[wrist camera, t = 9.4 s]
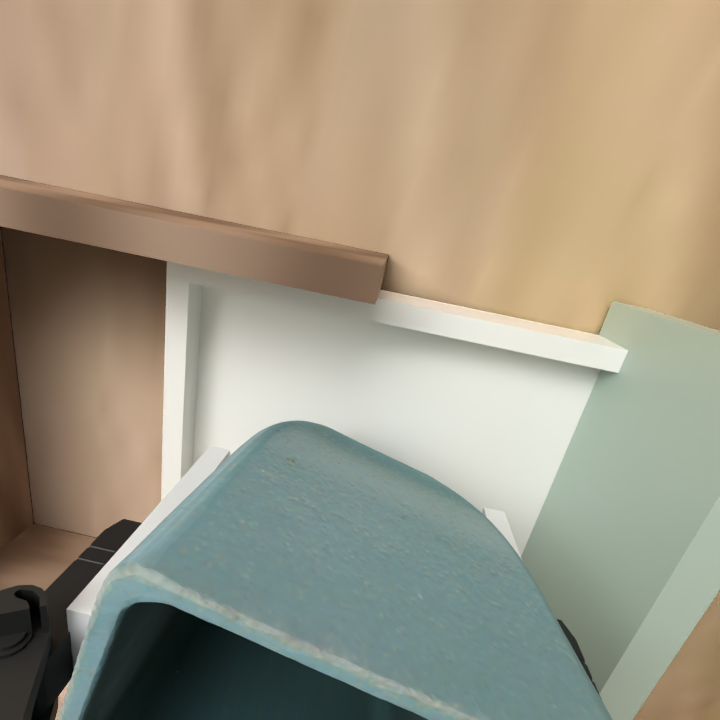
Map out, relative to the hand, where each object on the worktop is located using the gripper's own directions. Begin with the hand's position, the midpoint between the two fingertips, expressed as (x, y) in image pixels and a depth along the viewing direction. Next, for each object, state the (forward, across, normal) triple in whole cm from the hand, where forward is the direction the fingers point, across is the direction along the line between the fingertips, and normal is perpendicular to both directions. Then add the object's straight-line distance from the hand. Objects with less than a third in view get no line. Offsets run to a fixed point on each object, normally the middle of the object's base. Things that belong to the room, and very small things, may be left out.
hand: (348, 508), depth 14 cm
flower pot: (+1, 0, 0) cm, 1 cm away
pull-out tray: (+3, 0, 0) cm, 3 cm away
